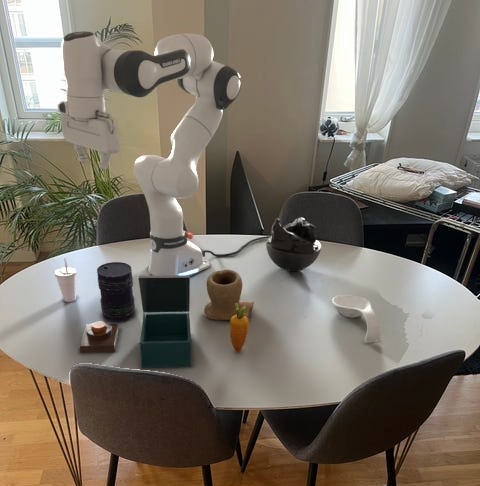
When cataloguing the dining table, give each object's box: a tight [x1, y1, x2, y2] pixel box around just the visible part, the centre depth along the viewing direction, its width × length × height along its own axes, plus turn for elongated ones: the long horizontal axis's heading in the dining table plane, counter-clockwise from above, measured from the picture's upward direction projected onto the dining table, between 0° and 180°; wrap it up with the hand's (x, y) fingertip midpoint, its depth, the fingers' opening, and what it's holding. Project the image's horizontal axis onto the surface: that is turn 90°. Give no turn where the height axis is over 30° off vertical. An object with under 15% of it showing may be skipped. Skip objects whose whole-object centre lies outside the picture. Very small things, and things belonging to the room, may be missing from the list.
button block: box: [78, 322, 120, 354], centre depth 128 cm, size 11×9×4 cm
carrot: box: [229, 303, 250, 354], centre depth 124 cm, size 5×5×15 cm
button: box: [91, 320, 106, 333], centre depth 127 cm, size 4×4×2 cm
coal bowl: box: [265, 216, 322, 272], centre depth 171 cm, size 20×20×19 cm
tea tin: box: [139, 312, 192, 369], centre depth 125 cm, size 15×13×8 cm
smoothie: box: [54, 258, 78, 303], centre depth 144 cm, size 6×6×14 cm
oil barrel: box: [96, 261, 136, 323], centre depth 138 cm, size 10×10×15 cm
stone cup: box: [203, 269, 255, 321], centre depth 140 cm, size 15×12×15 cm
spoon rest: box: [331, 294, 382, 344], centre depth 143 cm, size 24×12×7 cm, turn 12°
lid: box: [137, 274, 191, 314], centre depth 122 cm, size 15×13×1 cm
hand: (93, 165), depth 123 cm, fingers open, 8 cm apart
